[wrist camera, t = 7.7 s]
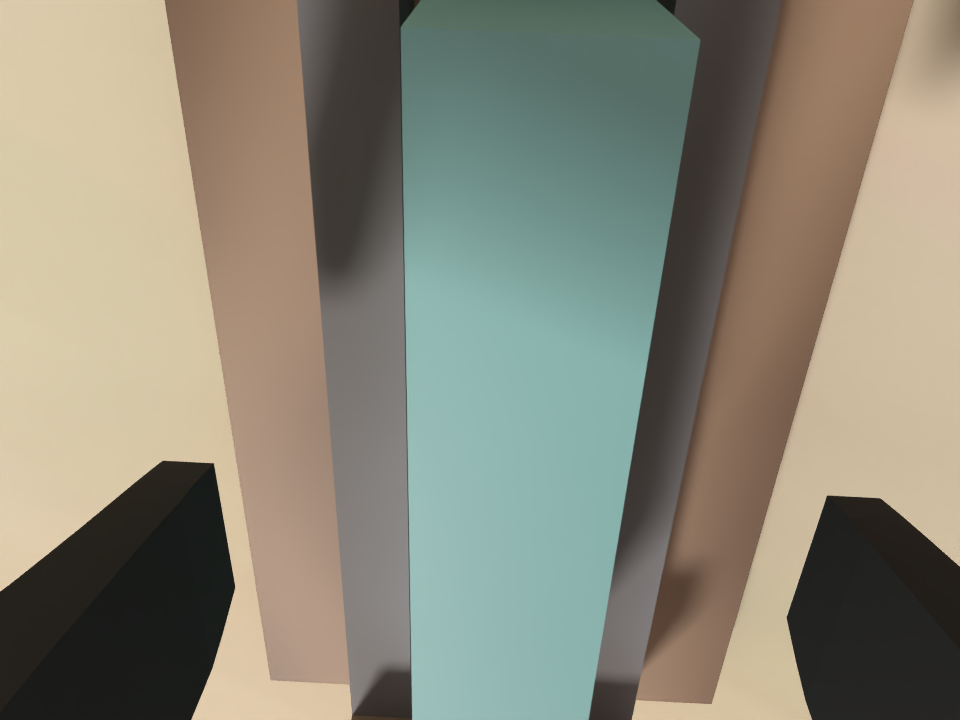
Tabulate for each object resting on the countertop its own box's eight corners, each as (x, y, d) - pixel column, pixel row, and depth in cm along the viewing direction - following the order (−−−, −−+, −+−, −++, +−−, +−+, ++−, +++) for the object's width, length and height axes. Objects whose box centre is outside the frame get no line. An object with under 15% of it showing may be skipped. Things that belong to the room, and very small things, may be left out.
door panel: (609, -42, 10) (701, 39, 5) (542, 603, 17) (554, 926, 12) (456, -48, 11) (400, 28, 5) (446, 597, 17) (415, 918, 12)
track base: (958, -312, 10) (1240, -432, 6) (700, 659, 19) (747, 856, 15) (150, -340, 10) (-79, -474, 6) (283, 637, 19) (226, 827, 15)
